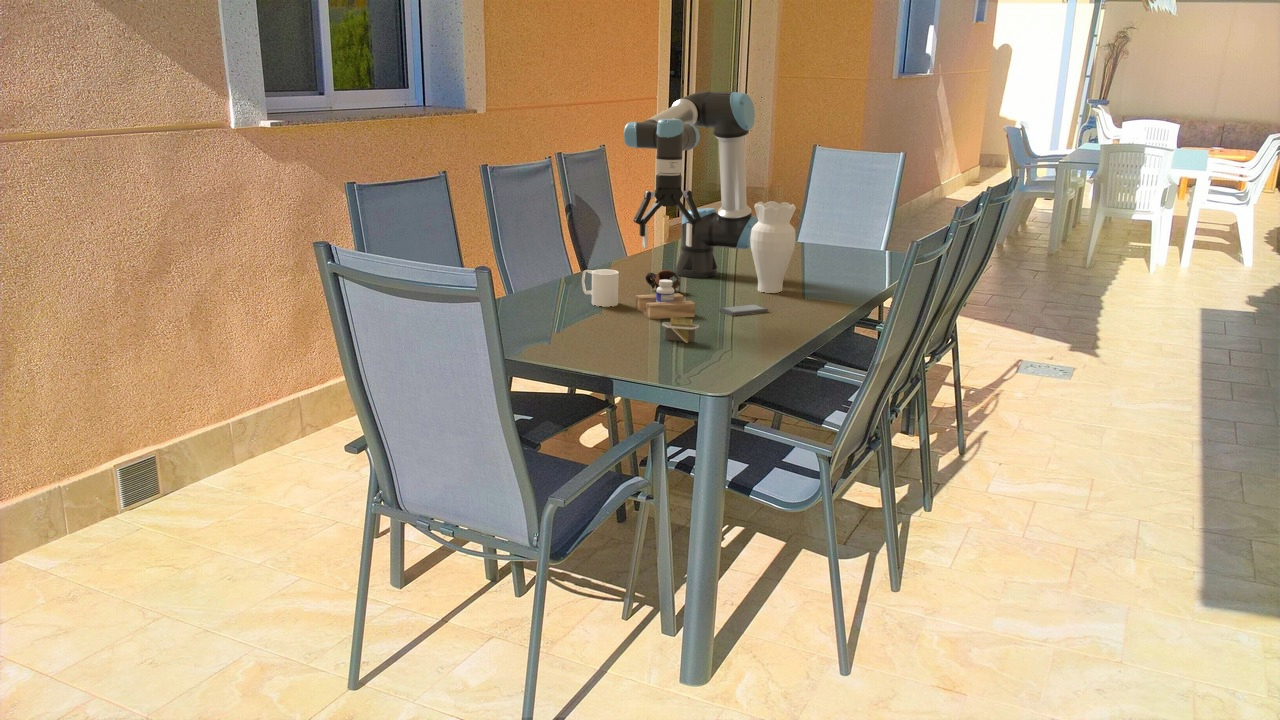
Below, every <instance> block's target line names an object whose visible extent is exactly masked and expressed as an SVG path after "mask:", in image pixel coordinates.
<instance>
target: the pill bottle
mask: <svg viewBox="0 0 1280 720" xmlns="http://www.w3.org/2000/svg"><path fill="white" fill-rule="evenodd" d="M673 282H674V281H673V280H671V279H669V280H666V279H664V280H659V285H660V287H658V288H657V290H656V289H655V290H656V291H655V292H656V293H655V294H656V302H674V294H675V290H674V288H672V285H673Z"/></svg>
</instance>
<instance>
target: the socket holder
mask: <svg viewBox="0 0 1280 720" xmlns="http://www.w3.org/2000/svg"><path fill="white" fill-rule="evenodd" d="M635 309H636V310H637V311H638V312H640V313H641V314H642V315H643V316H645V317H646V318H647V319H648V320H656V319H657V320H658V319H671V318H673V319H675V318H679V319H681V318H692V317H693V318H695V317H696V303H695V302H694V301H692V300H684V295H683V294H681V293H674V302H656V293H655V294H638V295H637V294H636V295H635Z"/></svg>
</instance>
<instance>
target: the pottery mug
mask: <svg viewBox="0 0 1280 720" xmlns="http://www.w3.org/2000/svg"><path fill="white" fill-rule="evenodd" d="M679 276H680V275H677V274H676V273H675V271H672V270H670V269H663V270H659V271H658V272H657V274H656V273H655V272H648V273H646V275H645V277H644V278H645V280H646V283H647V284H648V285H649V286H651V289H652V290H653V289H655V290H657V288H658V287H660V285H659V280H664V279H666V280H671V278H675V281H673V285H672V288H674V291H675V290H676V289H678V288H679V286H681V282H680V277H679Z"/></svg>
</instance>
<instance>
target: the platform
mask: <svg viewBox="0 0 1280 720" xmlns="http://www.w3.org/2000/svg"><path fill="white" fill-rule="evenodd" d="M661 326H663V327H665V340H666V341H676V342H684V343H687V344H689V342H692V343H695V339H696V337H695V336H696V333H695V332H696V329H698V328H700V324H698V323H696V324H695V323H693V319H692V318H691V319H690V318H670V322H669V321H663V322H661Z"/></svg>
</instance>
